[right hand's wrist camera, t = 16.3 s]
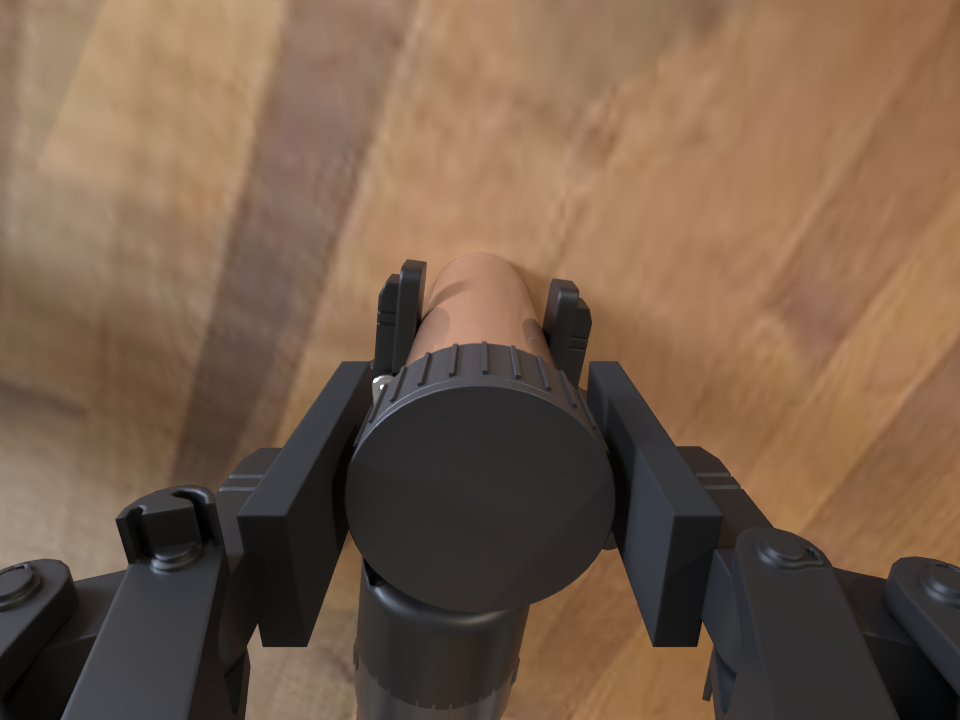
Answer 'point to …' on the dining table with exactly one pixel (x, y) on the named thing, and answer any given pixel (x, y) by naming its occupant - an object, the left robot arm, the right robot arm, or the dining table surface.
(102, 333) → the dining table surface
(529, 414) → the lid
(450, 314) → the jar
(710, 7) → the dining table surface
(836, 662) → the right robot arm
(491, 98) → the dining table surface
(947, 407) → the dining table surface
